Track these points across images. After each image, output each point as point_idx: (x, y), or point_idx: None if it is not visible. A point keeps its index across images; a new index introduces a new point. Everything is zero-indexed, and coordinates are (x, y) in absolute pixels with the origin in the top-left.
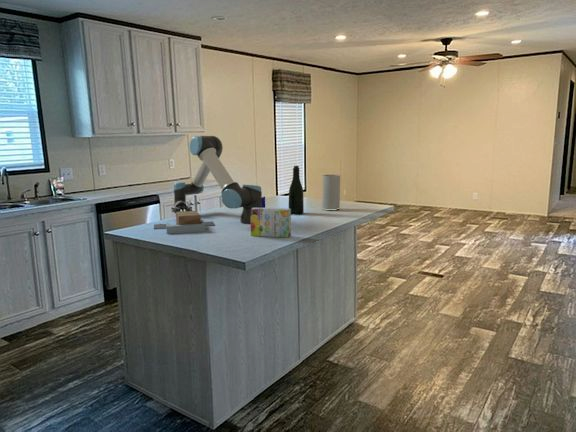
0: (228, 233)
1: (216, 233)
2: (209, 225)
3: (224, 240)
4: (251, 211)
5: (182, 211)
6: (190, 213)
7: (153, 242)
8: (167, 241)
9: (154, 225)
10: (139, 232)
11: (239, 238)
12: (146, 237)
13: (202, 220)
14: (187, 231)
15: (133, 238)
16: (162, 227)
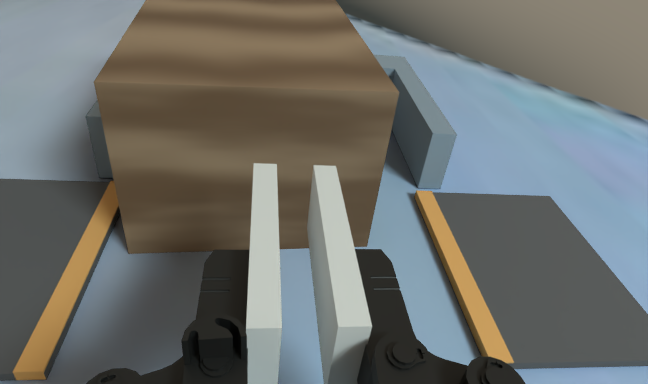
0: (40, 43)
1: (105, 55)
2: (20, 180)
3: (131, 5)
4: None
5: (308, 89)
6: (223, 23)
7: (415, 41)
8: (362, 37)
9: (632, 302)
10: (593, 153)
11: (54, 4)
12: (481, 82)
13: (98, 108)
14: None
15: (537, 84)
16: (488, 209)
